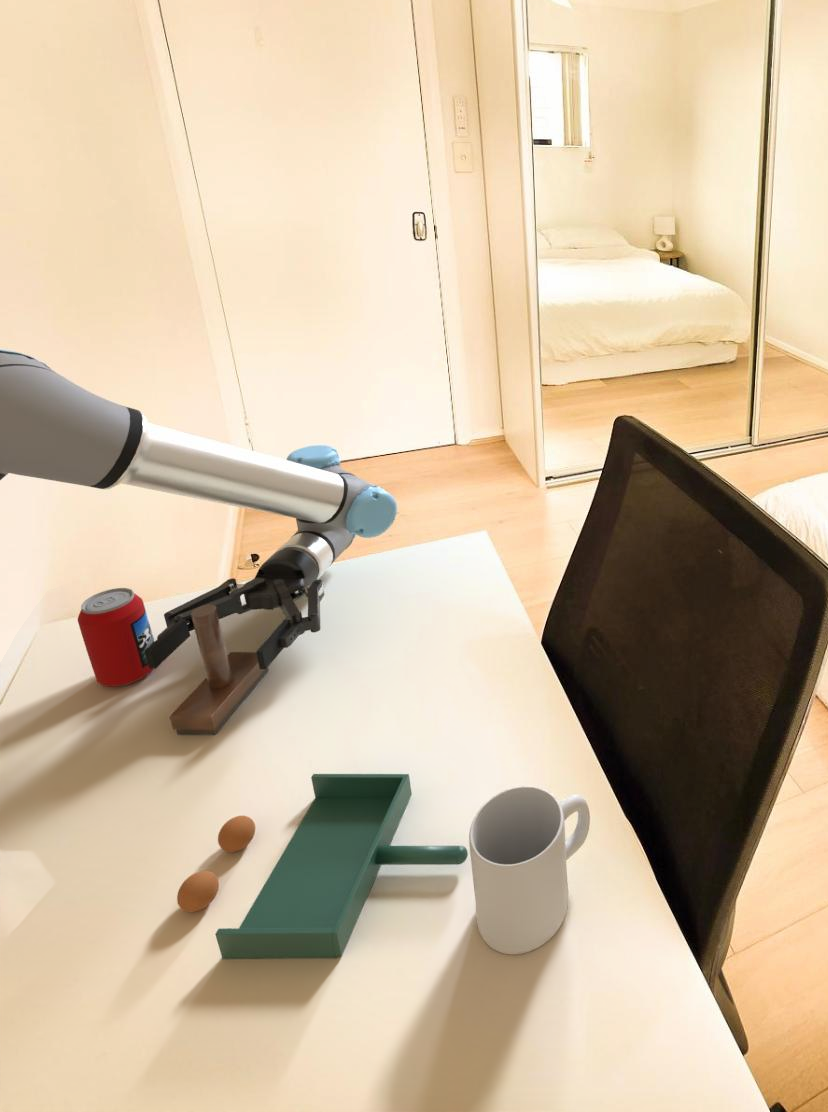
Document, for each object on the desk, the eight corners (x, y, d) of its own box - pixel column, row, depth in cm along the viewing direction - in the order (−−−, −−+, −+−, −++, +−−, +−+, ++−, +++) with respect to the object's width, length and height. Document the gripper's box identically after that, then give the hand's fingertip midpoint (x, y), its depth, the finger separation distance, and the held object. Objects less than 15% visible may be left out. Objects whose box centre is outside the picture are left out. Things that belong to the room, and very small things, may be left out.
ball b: (214, 859, 70) (207, 836, 69) (233, 831, 73) (227, 808, 72) (246, 859, 70) (240, 836, 69) (264, 830, 73) (258, 808, 72)
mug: (507, 978, 60) (499, 888, 57) (460, 907, 66) (450, 822, 62) (614, 885, 69) (613, 801, 65) (564, 829, 74) (561, 750, 70)
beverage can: (169, 669, 95) (149, 595, 91) (109, 698, 90) (85, 621, 86) (147, 651, 99) (127, 579, 95) (89, 678, 93) (65, 603, 89)
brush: (174, 736, 84) (147, 641, 80) (234, 669, 96) (214, 583, 91) (216, 736, 85) (191, 641, 80) (271, 669, 96) (252, 583, 91)
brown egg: (173, 920, 64) (165, 896, 63) (195, 886, 67) (188, 862, 66) (208, 920, 64) (200, 895, 63) (229, 886, 67) (222, 862, 66)
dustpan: (222, 959, 61) (214, 934, 60) (317, 795, 77) (313, 773, 76) (441, 957, 62) (437, 932, 61) (490, 795, 78) (488, 773, 77)
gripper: (379, 589, 108) (311, 684, 88) (217, 588, 107) (110, 683, 87) (373, 547, 105) (302, 635, 85) (207, 545, 104) (95, 634, 84)
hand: (205, 660), depth 86 cm, fingers open, 13 cm apart
